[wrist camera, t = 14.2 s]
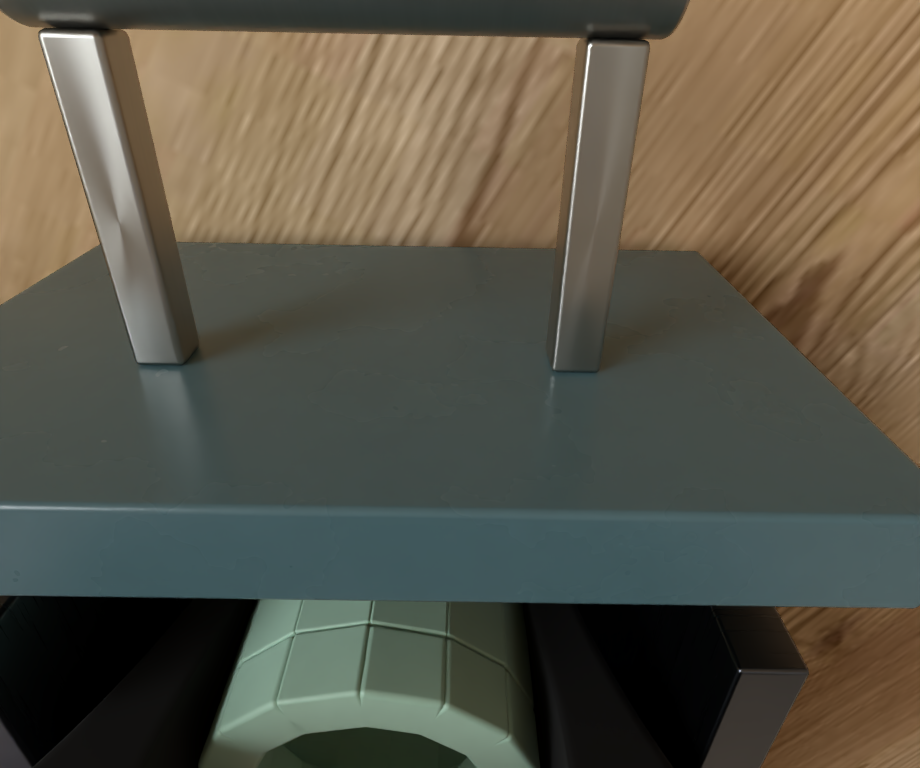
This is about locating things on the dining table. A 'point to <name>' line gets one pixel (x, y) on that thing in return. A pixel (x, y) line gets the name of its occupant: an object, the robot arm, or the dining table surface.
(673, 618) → the drawer
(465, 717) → the jar
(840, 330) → the dining table surface
